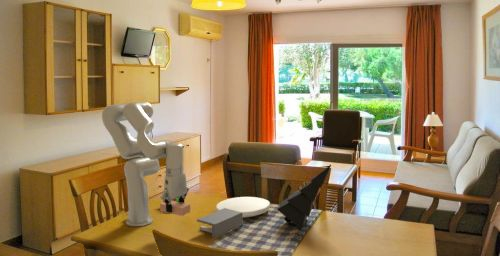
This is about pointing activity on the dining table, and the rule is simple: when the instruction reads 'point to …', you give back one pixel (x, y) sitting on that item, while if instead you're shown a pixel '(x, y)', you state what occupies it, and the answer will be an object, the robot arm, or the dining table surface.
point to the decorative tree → (302, 200)
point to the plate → (245, 205)
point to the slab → (176, 208)
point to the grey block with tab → (221, 222)
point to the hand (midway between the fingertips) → (175, 209)
